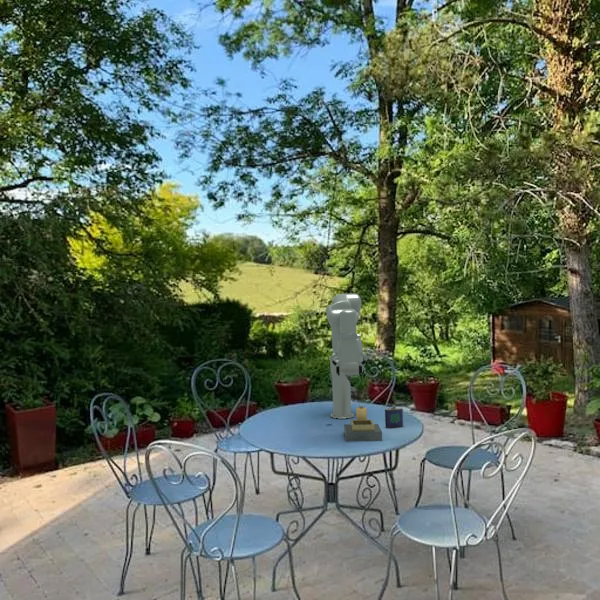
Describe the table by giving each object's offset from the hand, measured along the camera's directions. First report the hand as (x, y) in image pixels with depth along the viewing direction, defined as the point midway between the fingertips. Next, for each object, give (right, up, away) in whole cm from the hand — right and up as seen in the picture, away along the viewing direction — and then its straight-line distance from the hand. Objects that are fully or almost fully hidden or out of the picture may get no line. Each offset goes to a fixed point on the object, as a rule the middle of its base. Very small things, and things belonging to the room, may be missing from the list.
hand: (349, 375), depth 241 cm
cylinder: (+8, -28, +16) cm, 33 cm away
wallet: (+24, -28, +17) cm, 41 cm away
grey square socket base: (+6, -28, +2) cm, 29 cm away
